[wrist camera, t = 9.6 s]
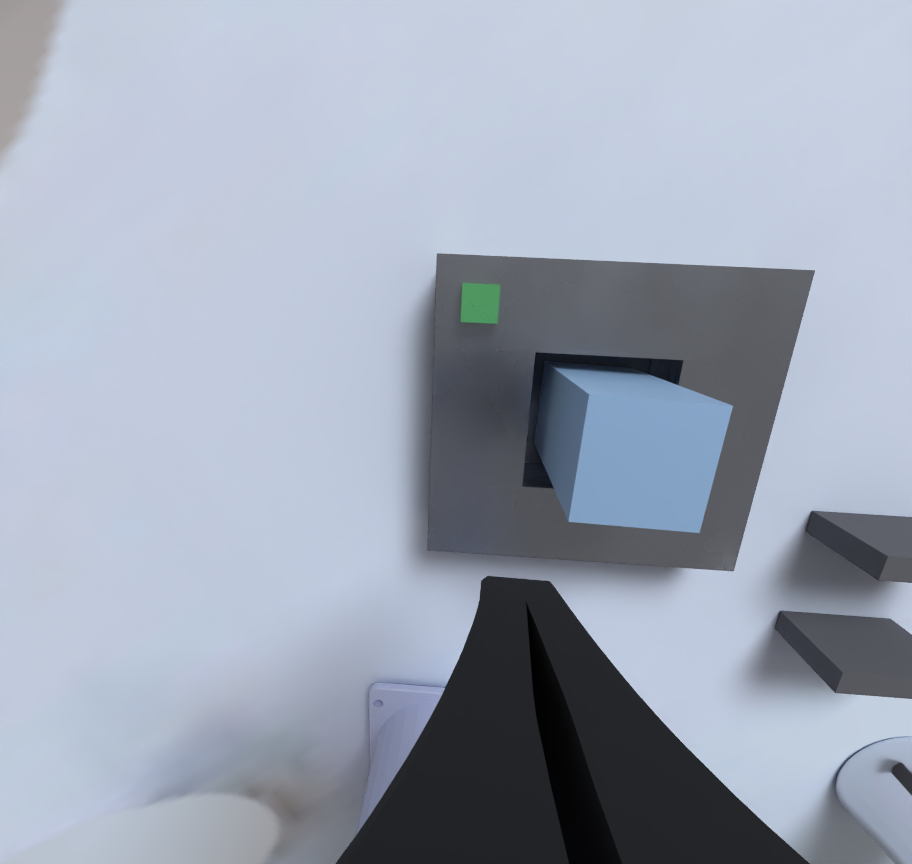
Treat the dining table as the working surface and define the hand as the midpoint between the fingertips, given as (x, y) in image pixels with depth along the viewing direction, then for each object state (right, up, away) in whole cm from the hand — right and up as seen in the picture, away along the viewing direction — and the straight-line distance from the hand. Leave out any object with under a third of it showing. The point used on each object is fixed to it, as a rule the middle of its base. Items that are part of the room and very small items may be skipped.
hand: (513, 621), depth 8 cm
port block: (+4, +5, +9) cm, 11 cm away
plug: (+4, +5, +9) cm, 11 cm away
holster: (+17, -3, +11) cm, 20 cm away
